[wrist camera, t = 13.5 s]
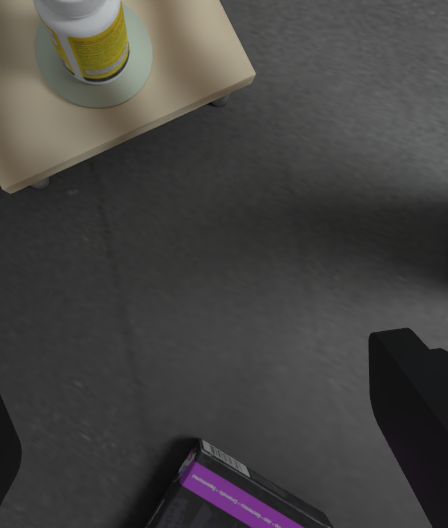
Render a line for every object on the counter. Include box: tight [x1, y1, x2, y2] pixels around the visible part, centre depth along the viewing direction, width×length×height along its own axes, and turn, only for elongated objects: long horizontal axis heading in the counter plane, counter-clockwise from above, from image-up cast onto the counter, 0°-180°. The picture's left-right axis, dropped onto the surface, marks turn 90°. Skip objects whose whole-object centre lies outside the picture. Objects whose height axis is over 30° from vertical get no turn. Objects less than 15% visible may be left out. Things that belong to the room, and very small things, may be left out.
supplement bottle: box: [33, 0, 130, 85], centre depth 24 cm, size 5×5×8 cm
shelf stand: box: [0, 0, 256, 194], centre depth 32 cm, size 20×12×6 cm, turn 117°
